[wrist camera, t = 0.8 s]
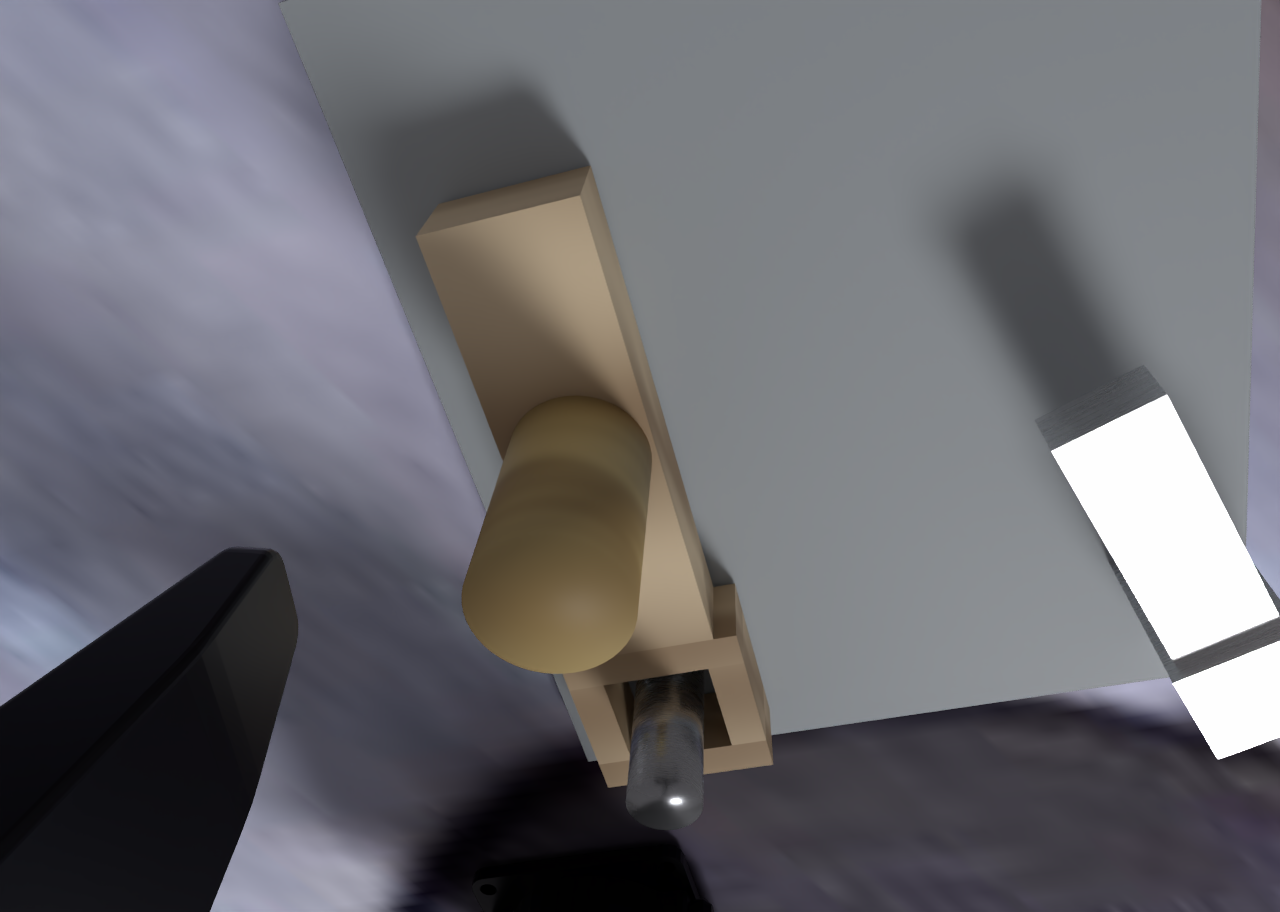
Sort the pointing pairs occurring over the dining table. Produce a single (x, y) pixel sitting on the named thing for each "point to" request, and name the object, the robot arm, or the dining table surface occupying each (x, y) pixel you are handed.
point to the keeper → (1175, 555)
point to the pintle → (667, 751)
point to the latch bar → (583, 475)
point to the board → (857, 287)
